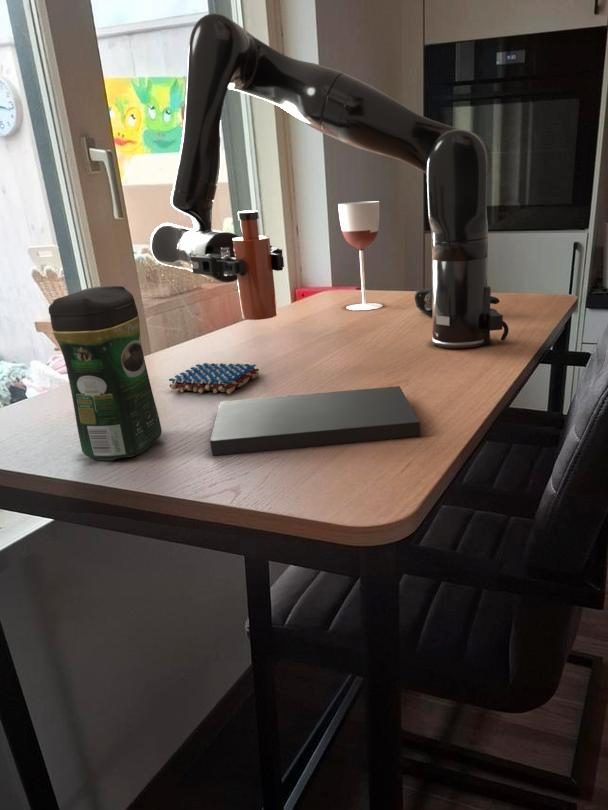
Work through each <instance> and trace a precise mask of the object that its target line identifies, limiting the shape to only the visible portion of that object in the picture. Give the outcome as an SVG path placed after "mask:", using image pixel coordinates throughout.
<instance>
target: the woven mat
mask: <svg viewBox="0 0 608 810" xmlns="http://www.w3.org/2000/svg"><path fill="white" fill-rule="evenodd" d="M256 366H257V365H256V364H255V363H254V364H249V363H245V364H244V363H231V362H230V363H228V364H227V363H223V362H220V363H214V362H212V363H209V362H204V363H202V364H199V363H197V364H196V365H195V366H191V367H190V369H186V370H185V372H180V373H179V375H178V374H177V375H174V377H173V378H172V377H171V378H168V381H169V382H171V383H170V384H169V388H170V389H171V390H179V392H180V393H183V392H184V391H188V392H189V391H190V392H191V391H192V392H194V393H196V392H198V393H200V394H202V393H204V392H205V391H207V392H209V391H212V392H213V394H216V393H219V392H221V393H226V394H228V395H231V394H232V392H234V391H235V389H237V388H241V387H242V386H244V385H245V384H247V383H248V381H249V380H250V379H252V380H253V379H255V378H256V377H258V376H259V374H260V372H259V368H256Z"/></svg>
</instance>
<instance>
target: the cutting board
mask: <svg viewBox="0 0 608 810" xmlns="http://www.w3.org/2000/svg"><path fill="white" fill-rule="evenodd" d="M214 421H215V422H214V425H213V427H212V433H211V437H210V440H209V444H210V450H211V455H212V456H224V455H234V454H235V455H236V454H243V453H244V454H246V453H256V452H266V451H267V452H268V451H276V450H287V449H299V448H307V447H309V448H310V447H321V446H330V445H342V444H352V443H353V444H354V443H363V442H364V443H365V442H372V441H373V442H374V441H382V440H384V441H385V440H395V439H404V438H416V437H420V436H421V421H420V420H419V418H418V415H416V413H415V411H414V409H413V407H412V406H411V403H410V402H409V401H408V398H407V397H406V395H405V393H404V391H403V389H402V388H401V386H400V385H395V386H384V387H373V388H363V389H360V388H359V389H352V390H351V389H350V390H338V391H330V392H329V391H327V392H317V393H305V394H294V395H292V394H291V395H281V396H271V397H270V396H269V397H258V398H249V399H248V398H247V399H236V400H224V401H220V402H219V406H218V409H217V414H216V417H215V420H214Z"/></svg>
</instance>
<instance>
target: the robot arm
mask: <svg viewBox="0 0 608 810" xmlns="http://www.w3.org/2000/svg"><path fill="white" fill-rule="evenodd" d="M186 75H187V79H186V94H185V107H184V119H183V127H182V129H183V130H182V137H181V144H180V151H179V156H178V161H177V165H176V172H175V176H174V181H173V185H172V187H173V188H172V191H171V195H170V204H171V206H172V207H173V208H174V209H175V210H177V211H178V212H181V213H183V214H184V215H187V216H189V217H190V218H191V220H192V224H193V228H190V227H189V228H188V227H184V226H182V225H181V226H180V225H177V224H173V223H169V222H166V223H165V222H164V223H162V224H160V225H159V226H157V227H156V228H154V231H153V232H152V234H151V237H150V245H149V246H150V251H151V253H152V256H153V257H154V260H156V261H157V262H158V263H159V264H160V265H164V266H169V267H174V268H178V269H183V270H187V271H190V272H192V274H194V275H200V276H201V277H204V278H207V279H210V280H213V281H216V282H220V283H226V284H230V283H234V282H236V281H238V280H237V276H244V275H245V267H244V261H243V259H239V258H235V256H234V248H233V239H235V238H240V236H239V235H238V234H236V233H233V232H230V231H223V230H216V229H212V226H213V225H212V224H213V223H212V220H213V218H212V217H213V207H214V203H215V202H214V200H215V197H216V192H217V188H218V183H219V179H220V172H221V157H222V155H221V153H222V152H221V122H222V113H223V107H224V103H225V99H226V96H227V92H228V90H233V91H237V92H241V93H243V94H247V95H250V96H253V97H256V98H259V99H262V100H264V101H267V102H269V103H271V104H273V105H275V106H278V107H280V108H281V109H283V110H284V111H286V112H287V113H289V114H290V115H291V116H292V117H294V118H296V119H297V120H299V121H301V123H303V124H306V125H307V126H309V127H311V128H312V129H313V130H316V131H318V132H320V133H322V134H324V135H326V136H328V137H331V138H332V139H334V140H337V141H338V142H341V143H343V144H346V145H349V146H351V147H354V148H356V149H359V150H362V151H367V152H369V153H373V154H376V155H380V156H385V157H388V158H392V159H395V160H398V161H400V162H402V163H405V164H407V165H409V166H412V167H413V168H414V169H417V170H419V171H420V172H422V173H424V174H426V191H427V210H428V211H427V215H428V223H429V227H430V233H431V234H430V239H431V241H430V243H431V245H430V247H431V249H430V250H431V289H432V314H433V315H432V338H431V340H432V341H431V342H432V345H434V346H435V347H439V348H443V349H470V348H476V347H480V346H483V345H490V343H491V332H493V331H502V330H503V333H502V335H501V337H500V340H501V341H506V339H507V337H508V335H509V325H508V323H507V322H505V320H503V319H504V315H503V314H501V313H500V312H498V310H496V309H495V310H496V311H495V310H490V309H491V303H490V298H491V296H492V295H491V294H492V293H491V292H492V291H491V286H490V285H488V258H489V257H488V246H489V244H488V242H489V238H488V237H489V220H488V210H487V194H488V193H487V190H488V188H487V187H488V186H487V184H488V183H487V180H488V175H489V173H490V170H491V165H492V156H491V152H490V149H489V147H488V144H487V142H486V141H485V139H484V138H482V137H481V136H480V135H479V134H477V133H475V132H474V131H471V130H467V129H462V128H457V127H454V126H450V125H448V124H445V123H442V122H440V121H436V120H433V119H431V118H428V117H426V116H423V115H421V114H419V113H417V112H415V111H413V110H412V109H411V108H409V107H407V106H405V105H404V104H402V103H401V102H399V101H398V100H396V99H395V98H392V96H390V95H388V94H386V93H384V92H383V91H381V90H379V89H378V88H376V87H373V86H372V85H370V84H368V83H367V82H364V81H362V80H360V79H358V78H356V77H354V76H351V75H349V74H348V73H345V72H343V71H340V70H337V69H334V68H332V67H329V66H325V65H322V64H319V63H314V62H310V61H304V60H300V59H296V58H292V57H291V56H288V55H286V54H284V53H283V52H280V51H278V50H277V49H275V48H273V47H272V46H270V45H268V44H266V43H264V41H261V40H260V39H258V38H257V37H255V36H254V35H253V34H251V33H250V32H249V31H247V30H246V29H245V28H244V27H242V26H241V25H239V24H238V23H236V22H235V21H234V20H232V19H231V18H229V17H228V16H226V15H224V14H221V13H218V12H217V13H213V12H212V13H207V14H205V15H204V16H202V17H201V18H199V19H198V20H197V22H196V23H195V25H194V26H193V27H192V30H191V32H190V37H189V44H188V54H187V74H186ZM270 248H271V258H272V268H273V271H277V272H279V271H283V269H284V268H285V263H284V262H285V261H284V256H283V248H281V247H277V246H275V245H270Z"/></svg>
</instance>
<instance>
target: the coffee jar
mask: <svg viewBox="0 0 608 810" xmlns="http://www.w3.org/2000/svg"><path fill="white" fill-rule="evenodd" d="M48 314H49V318H50V325H51V329H52V334H53V337H54V339H55V340H56V342H57V344H58V346H59V348H60V351H61V353H62V356H63V360H64V362H65V368H66V373H67V378H68V383H69V387H70V388H69V389H70V392H71V393H70V394H71V397H72V403H73V409H74V416H75V422H76V429H77V433H78V438H79V443H80V447H81V452H82V454H83V455H85V456H86V457H89V458H92V459H95V460H98V461H116V460H117V459H122V458H131V457H136V456H138V455H139V454H141V453H143V452H144V451H146V450H147V449H148V448H150V447H151V446H153V444H155V443H156V442H157V441H158V440H159V439H160V437H161V436H162V432H163V429H162V425H161V420H160V416H159V411H158V409H157V408H158V407H157V405H156V400H155V397H154V393H153V389H152V385H151V381H150V377H149V372H148V369H147V363H146V360H145V356H144V350H143V345H142V339H141V328H140V327H141V326H140V316H139V312H138V307H137V304H136V302H135V297H134V295H133V293H131V291H129V290H128V289H127V288H125V287H124V286H122V285H105V286H104V285H103V286H101V285H100V286H92V287H88V288H84V289H81V290H78V291H76V292H71V293H70V294H67V295H64V296H61V297H58V298H55V299H54V300H53V301H52V303H51V304H50V305H49V306H48Z"/></svg>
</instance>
